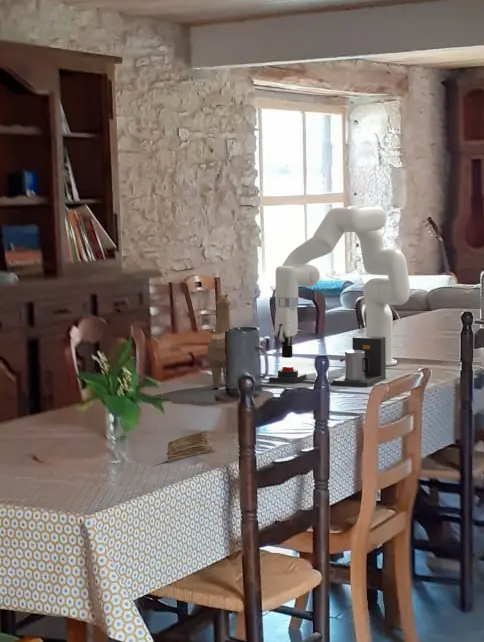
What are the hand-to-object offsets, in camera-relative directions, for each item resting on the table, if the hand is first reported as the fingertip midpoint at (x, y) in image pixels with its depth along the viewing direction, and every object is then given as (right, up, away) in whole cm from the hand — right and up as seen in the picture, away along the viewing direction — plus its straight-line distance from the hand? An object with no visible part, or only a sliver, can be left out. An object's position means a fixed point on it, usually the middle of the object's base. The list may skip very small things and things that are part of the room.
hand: (287, 357), depth 393 cm
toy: (-22, -10, -9) cm, 25 cm away
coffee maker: (+24, -8, -4) cm, 25 cm away
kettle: (+22, -7, -8) cm, 24 cm away
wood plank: (-32, -20, -109) cm, 115 cm away
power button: (0, -5, +1) cm, 5 cm away
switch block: (0, -8, +1) cm, 8 cm away
